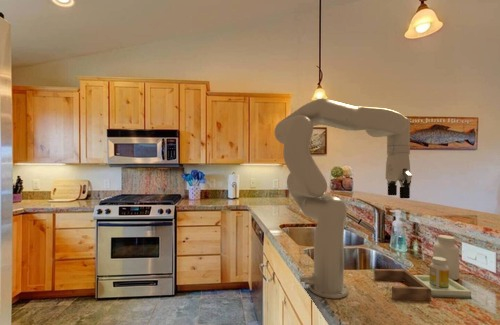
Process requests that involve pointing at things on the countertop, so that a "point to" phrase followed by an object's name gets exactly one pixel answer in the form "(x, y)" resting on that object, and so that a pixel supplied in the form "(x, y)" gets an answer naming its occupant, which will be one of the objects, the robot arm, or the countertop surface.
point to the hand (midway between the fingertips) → (398, 196)
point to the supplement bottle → (439, 273)
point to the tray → (452, 291)
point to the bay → (407, 293)
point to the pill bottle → (448, 254)
